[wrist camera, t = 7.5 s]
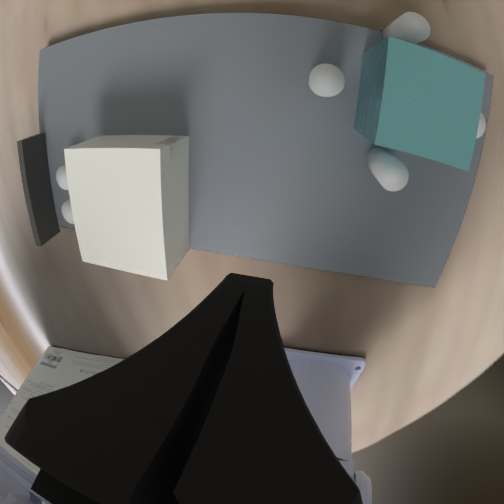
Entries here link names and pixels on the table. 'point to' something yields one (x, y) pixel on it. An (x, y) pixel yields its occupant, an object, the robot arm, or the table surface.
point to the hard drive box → (51, 385)
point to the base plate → (255, 139)
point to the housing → (131, 201)
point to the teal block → (419, 102)
